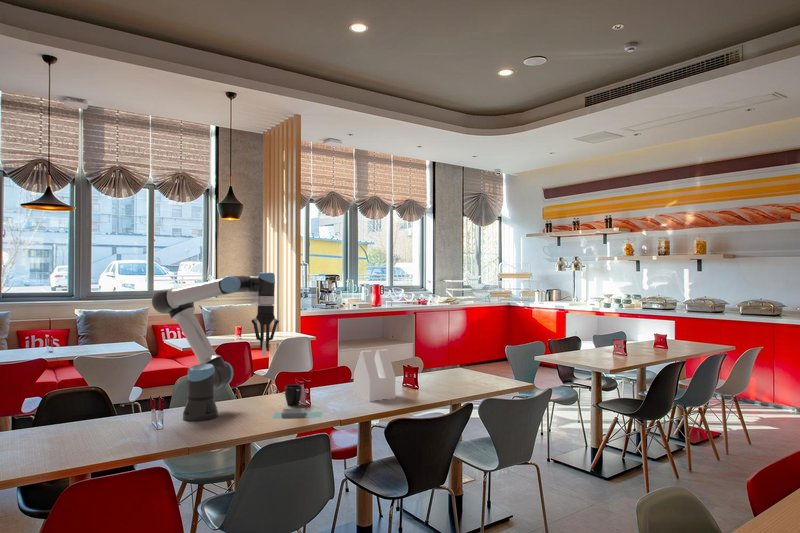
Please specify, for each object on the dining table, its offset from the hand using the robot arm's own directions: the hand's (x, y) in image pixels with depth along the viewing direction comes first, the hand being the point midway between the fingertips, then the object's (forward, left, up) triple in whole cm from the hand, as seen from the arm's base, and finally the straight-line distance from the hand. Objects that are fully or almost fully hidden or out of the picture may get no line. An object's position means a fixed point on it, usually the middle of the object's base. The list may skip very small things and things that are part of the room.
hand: (264, 354), depth 259 cm
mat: (+16, -7, -27) cm, 33 cm away
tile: (+9, -7, -26) cm, 28 cm away
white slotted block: (+54, +31, -28) cm, 69 cm away
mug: (+13, +13, -28) cm, 33 cm away
